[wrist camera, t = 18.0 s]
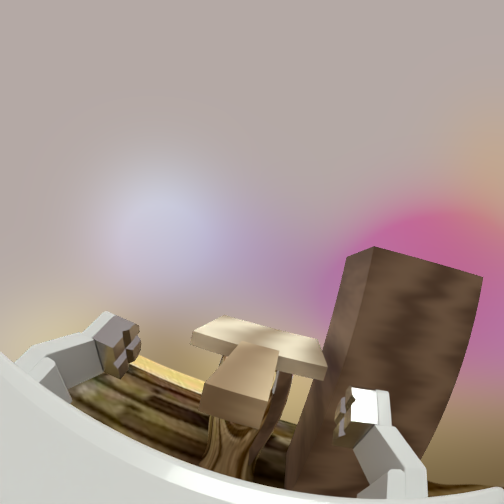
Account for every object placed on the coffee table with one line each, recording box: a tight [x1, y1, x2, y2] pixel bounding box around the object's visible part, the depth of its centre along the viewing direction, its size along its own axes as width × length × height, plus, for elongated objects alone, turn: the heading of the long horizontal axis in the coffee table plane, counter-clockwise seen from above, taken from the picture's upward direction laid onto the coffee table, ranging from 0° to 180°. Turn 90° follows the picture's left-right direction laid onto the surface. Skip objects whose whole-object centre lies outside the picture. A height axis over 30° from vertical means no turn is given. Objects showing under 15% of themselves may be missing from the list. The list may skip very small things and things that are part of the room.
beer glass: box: [198, 355, 293, 482], centre depth 25 cm, size 7×7×15 cm
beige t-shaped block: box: [190, 315, 328, 429], centre depth 23 cm, size 11×21×2 cm, turn 172°
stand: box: [284, 246, 483, 498], centre depth 26 cm, size 11×12×26 cm
